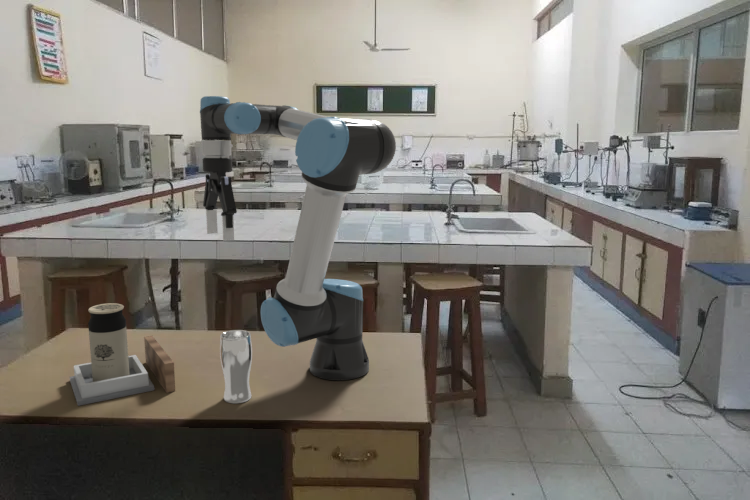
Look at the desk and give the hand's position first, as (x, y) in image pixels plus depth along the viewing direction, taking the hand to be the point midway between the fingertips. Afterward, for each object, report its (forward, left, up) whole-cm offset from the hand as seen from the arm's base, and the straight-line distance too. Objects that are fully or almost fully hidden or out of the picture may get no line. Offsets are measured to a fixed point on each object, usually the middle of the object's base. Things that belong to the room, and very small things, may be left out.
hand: (220, 236), depth 159 cm
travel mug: (-11, +31, -31) cm, 45 cm away
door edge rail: (-11, +20, -32) cm, 39 cm away
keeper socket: (-11, +31, -32) cm, 46 cm away
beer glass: (-33, +8, -32) cm, 47 cm away
